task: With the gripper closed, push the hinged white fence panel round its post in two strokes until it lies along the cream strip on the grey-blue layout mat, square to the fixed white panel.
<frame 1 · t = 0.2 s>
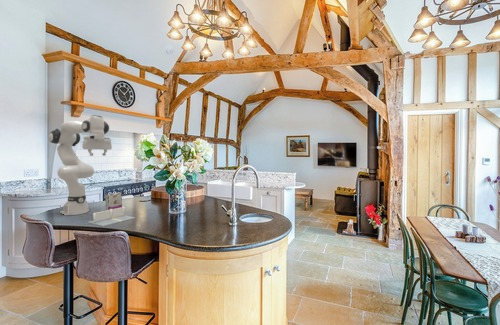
hand: (97, 155, 191), 47 cm above the table, tool pointing down, fingers open, 8 cm apart
layout mat: (112, 220, 188), on the table
candy bar box: (113, 213, 207), on the table
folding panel: (101, 215, 185), point 4 cm above the table, hinge at 0.0°
fixed fence: (111, 219, 191), resting on layout mat
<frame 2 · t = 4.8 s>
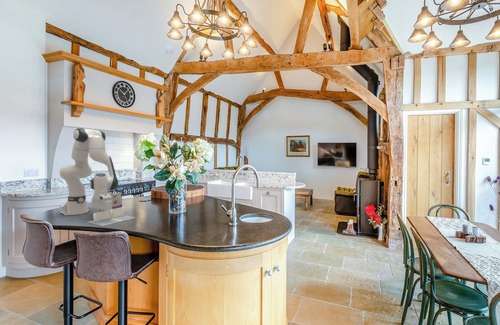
hand: (101, 214, 186), 4 cm above the table, tool pointing down, fingers closed
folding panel: (101, 215, 185), point 4 cm above the table, hinge at 1.3°, touching gripper
everything else where it was.
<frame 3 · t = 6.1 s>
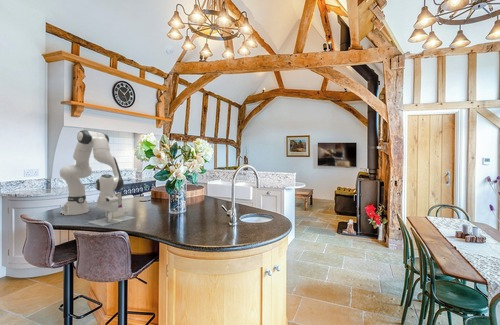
hand: (107, 216, 184), 4 cm above the table, tool pointing down, fingers closed
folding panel: (110, 215, 184), point 4 cm above the table, hinge at 53.7°, touching gripper
everything else where it was.
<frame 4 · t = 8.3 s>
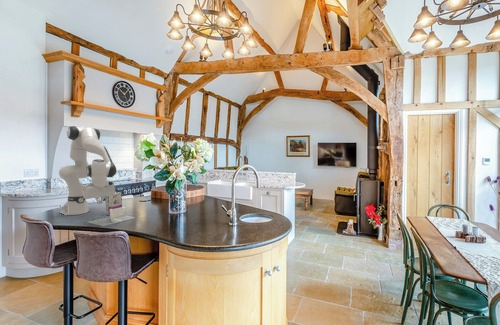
hand: (99, 203, 175), 15 cm above the table, tool pointing down, fingers closed
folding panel: (111, 215, 185), point 4 cm above the table, hinge at 61.1°
everything else where it was.
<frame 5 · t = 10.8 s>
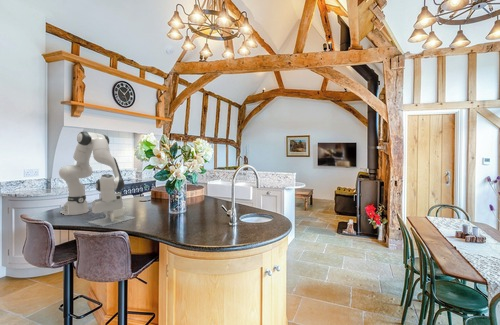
hand: (108, 217, 180), 4 cm above the table, tool pointing down, fingers closed
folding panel: (111, 215, 185), point 4 cm above the table, hinge at 62.3°, touching gripper
everything else where it was.
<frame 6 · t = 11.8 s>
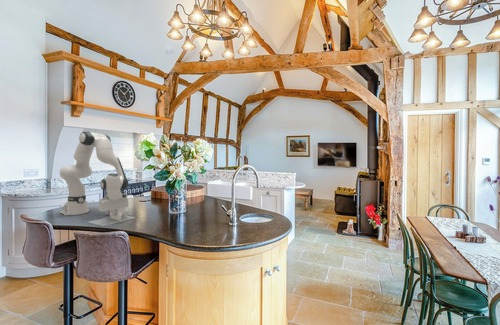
hand: (114, 215, 184), 4 cm above the table, tool pointing down, fingers closed
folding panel: (116, 215, 187), point 4 cm above the table, hinge at 85.5°, touching gripper
everything else where it was.
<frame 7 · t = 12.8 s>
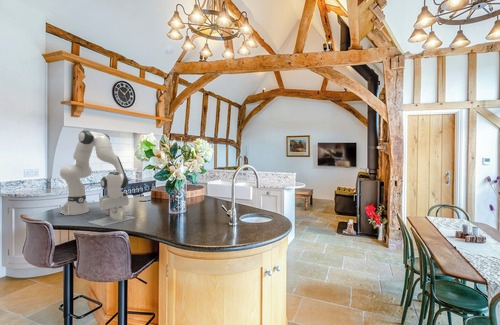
hand: (114, 213, 185), 6 cm above the table, tool pointing down, fingers closed
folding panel: (117, 214, 187), point 4 cm above the table, hinge at 91.4°
everything else where it was.
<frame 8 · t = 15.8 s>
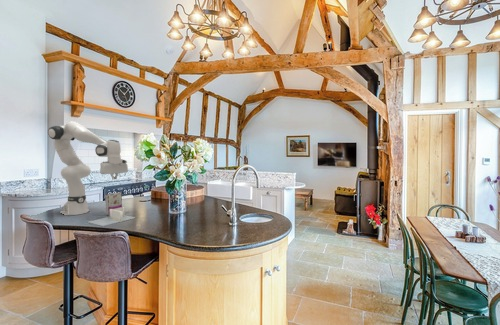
hand: (114, 179, 195), 29 cm above the table, tool pointing down, fingers closed
nothing on the table moved.
at the end: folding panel at +91° (first picture: +0°) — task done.
